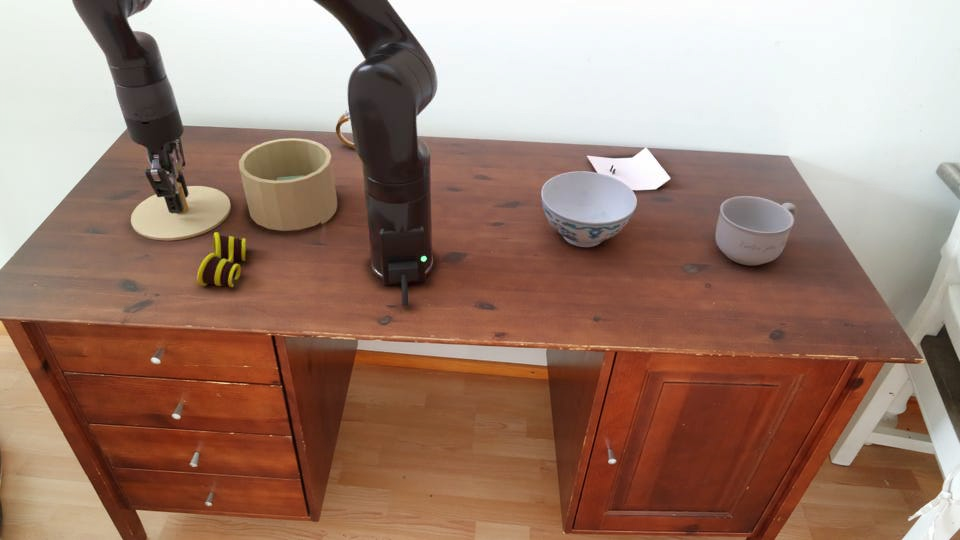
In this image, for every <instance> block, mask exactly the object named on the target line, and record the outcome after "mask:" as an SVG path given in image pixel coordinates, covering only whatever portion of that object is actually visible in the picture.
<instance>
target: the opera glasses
mask: <svg viewBox="0 0 960 540" xmlns="http://www.w3.org/2000/svg"><path fill="white" fill-rule="evenodd" d="M212 241H213V242H212V243H213V244H212V245H213V252H211V253H209V254H207V256H205V258H204V259H203V260H202V262H201V264H200V265H199V268H198V270H197V277H196V279H197V282H198V284H199V285H200V286H202V287H206V286H208V285H215V286H217V287H222V286H224V287H227V286H228V287H230V288H234V286H235V283H233V279H234V281H235V280H238V279H239V278H240V276H241V272H242V267H241V265H240V264H239V263H234V262H235V261H237V262H239V261H242V262H246V251H247V238H244V237H242V238H241V239H240V238H239V237H238V238H236V237H235V236H232V235H229V236H227V235H222V234H220V233H219V232H218V231H215V232H214V233H213V237H212Z"/></svg>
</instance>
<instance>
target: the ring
mask: <svg viewBox="0 0 960 540" xmlns="http://www.w3.org/2000/svg"><path fill="white" fill-rule="evenodd" d="M349 121H350V114H349V110H345V112H344V113H343V114H342V115H340V117H339V119H338V121H337V123H336V124H335V133H336V135H337V138H338V139H339V140H340V141H341V142H342V143H343V144H344V145H345V146H347V147H349V148H351V149H354V150H356V149H355V145H354V142H352V141H350V140H348V139H347V138H345V137H344V135H343V134H342V130H341V129H342V128H341V127H342V125H343V124H344V123H347V122H349Z"/></svg>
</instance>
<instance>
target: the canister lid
mask: <svg viewBox="0 0 960 540" xmlns="http://www.w3.org/2000/svg"><path fill="white" fill-rule="evenodd" d="M177 186H178V189H179V193H180V197H181V200H182V203H183V207H184V210H183V212H182V213H170V212H169V210H168V207H167V204H166V201H165V198H164V197H157V195H156V193H155V194H153V195H151V196H149V197H147V198H146V199H144V200H143V201H141V202H140V203H139V204H138V205H137V206H136V207H135V208H134V210H133V211H132V213H131V215H130V224H131V227H132V228H133V230H134V231H135V232H136V233H137V234H138V235H139V236H141V237H144V238H147V239H150V240H153V241H154V240H155V241H163V242H164V241H166V242H167V241H168V242H169V241H171V242H172V241H181V240H186V239H190V238H195V237H197V236H201V235H203V234H206V233H207V232H209V231H212V230H214V229H215V228H217V227H219V225H221V224H222V223H223V222H224V221H225V220H226V219H227V218H228V217H229V215H230V212H231V208H232V205H231V201H230V199H229V196H228V195H226V194H225V192H223V191H222V190H219V189H217V188H214V187H210V186H203V185H202V186H201V185H186V186H187V189H188V193H189V194H188V197H186V198H185V195H184V191H183V188H182V185H181V183H179V182H177Z"/></svg>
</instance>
